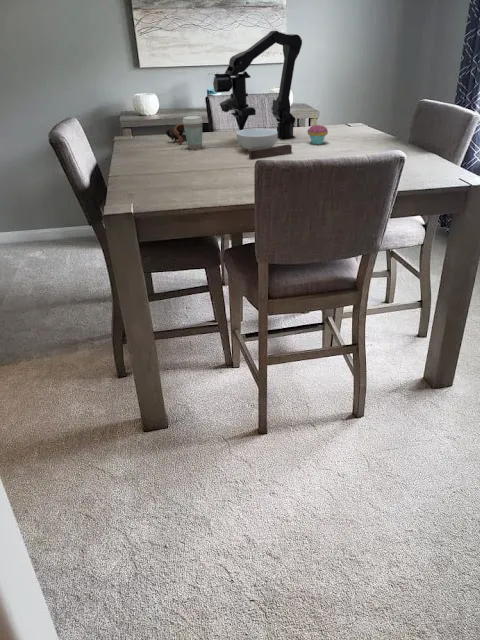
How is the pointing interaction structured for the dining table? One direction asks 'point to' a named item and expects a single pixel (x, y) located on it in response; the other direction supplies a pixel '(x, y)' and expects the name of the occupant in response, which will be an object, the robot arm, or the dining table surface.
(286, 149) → the rail
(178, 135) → the brown irregular piece
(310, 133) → the cupcake
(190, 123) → the coffee cup
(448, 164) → the dining table surface
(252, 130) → the cereal bowl
